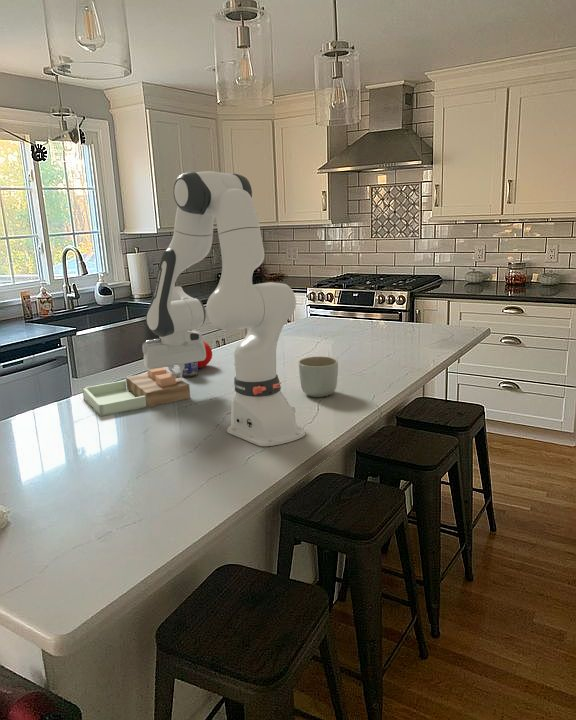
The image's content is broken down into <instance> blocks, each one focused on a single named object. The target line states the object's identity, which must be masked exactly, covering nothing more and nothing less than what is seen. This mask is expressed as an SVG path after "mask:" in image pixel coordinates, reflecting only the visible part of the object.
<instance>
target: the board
mask: <svg viewBox="0 0 576 720" xmlns="http://www.w3.org/2000/svg"><path fill="white" fill-rule="evenodd" d="M166 371H167V373H170V371H169V370H166ZM175 380H176V384H173V385H167V386H162V387H161V386H159V385H158V384H156V380H155V379H152V378H150V377H149V376H148V373H147V372H146V373H141V374H135V375H130V376H126V377H125V381H126V389H127V390H129V391H130V393H132V394H133V395H134V396H136V397H140V396H145V398H146V407H148V408H149V407H153V406H158V405H164V404H167V403H172V402H177V401H183V400H187V399H191V390H190V384H189V383H188V382H186V381H184V380H183V379H181V378H176V379H175Z"/></svg>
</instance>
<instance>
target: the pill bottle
mask: <svg viewBox="0 0 576 720" xmlns="http://www.w3.org/2000/svg"><path fill="white" fill-rule="evenodd" d="M184 365H185V367H184V369H183V371H182V378H195V377H197V376H198V375H199V368H198V364H197V362H191V363H186V364H184Z"/></svg>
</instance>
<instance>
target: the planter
mask: <svg viewBox="0 0 576 720" xmlns="http://www.w3.org/2000/svg"><path fill="white" fill-rule="evenodd" d="M298 372H299V373H298V374H299V380H300V386H301V387H300V388H301V389H302V391H303V392H304V394H306V395H307V396H309V397H311V396H312V398H323V397H324V396H326V397H329V396H330V395H332V394H333V393H334V392H335V391H336V389H337V385H338V374H339V360H338V359H337V358H335V357H331V356H310V357H305V358H302V359H300V360H299V361H298ZM328 395H329V396H328Z"/></svg>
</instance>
